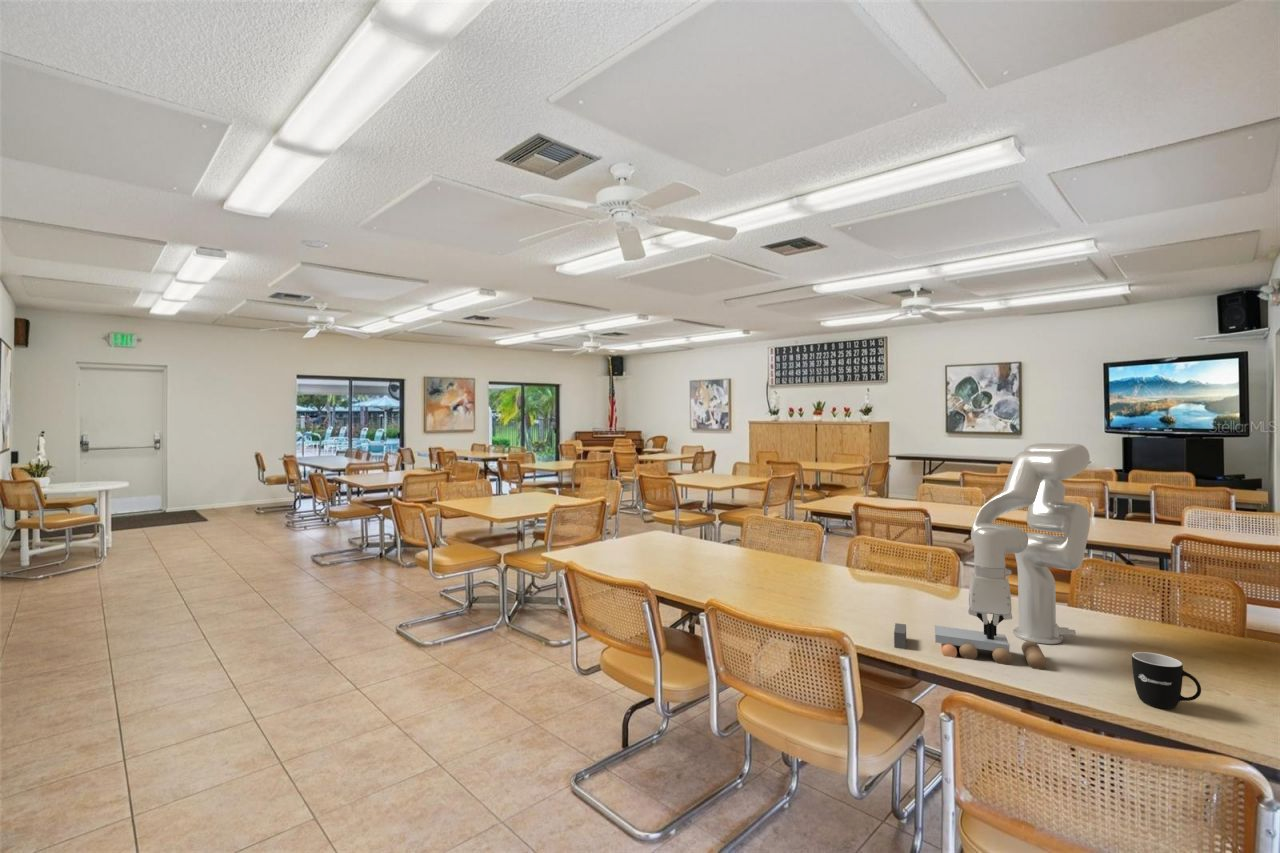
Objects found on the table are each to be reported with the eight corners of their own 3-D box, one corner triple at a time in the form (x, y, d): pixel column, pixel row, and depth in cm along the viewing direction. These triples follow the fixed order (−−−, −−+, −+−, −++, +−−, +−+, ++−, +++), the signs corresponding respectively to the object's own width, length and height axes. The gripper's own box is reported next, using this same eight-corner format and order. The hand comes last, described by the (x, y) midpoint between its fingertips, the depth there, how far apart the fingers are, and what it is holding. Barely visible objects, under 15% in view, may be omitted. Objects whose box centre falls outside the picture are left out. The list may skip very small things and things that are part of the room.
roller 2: (958, 648, 174) (956, 633, 175) (975, 648, 173) (973, 633, 173) (960, 660, 165) (958, 644, 166) (978, 660, 164) (976, 644, 164)
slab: (1004, 642, 169) (1005, 634, 169) (1009, 653, 161) (1009, 644, 161) (934, 632, 177) (934, 625, 177) (935, 642, 168) (935, 634, 168)
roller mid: (991, 652, 171) (987, 637, 171) (1008, 651, 169) (1004, 636, 169) (994, 665, 162) (990, 649, 162) (1013, 664, 160) (1009, 648, 160)
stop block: (906, 640, 180) (906, 624, 180) (905, 650, 172) (905, 633, 172) (895, 639, 181) (895, 623, 181) (894, 649, 173) (894, 632, 173)
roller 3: (1021, 655, 168) (1021, 640, 168) (1040, 657, 166) (1039, 641, 166) (1027, 668, 159) (1026, 652, 159) (1047, 670, 157) (1046, 654, 157)
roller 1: (938, 635, 176) (952, 632, 175) (943, 648, 176) (957, 645, 174) (939, 646, 167) (953, 643, 166) (945, 659, 167) (959, 657, 165)
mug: (1128, 701, 139) (1128, 658, 139) (1136, 690, 145) (1135, 649, 145) (1199, 720, 130) (1198, 674, 130) (1204, 707, 136) (1203, 663, 136)
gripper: (1018, 572, 167) (1019, 637, 166) (958, 567, 173) (959, 630, 173) (1023, 577, 160) (1023, 646, 160) (960, 572, 166) (960, 638, 166)
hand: (990, 637), depth 166 cm, fingers closed
